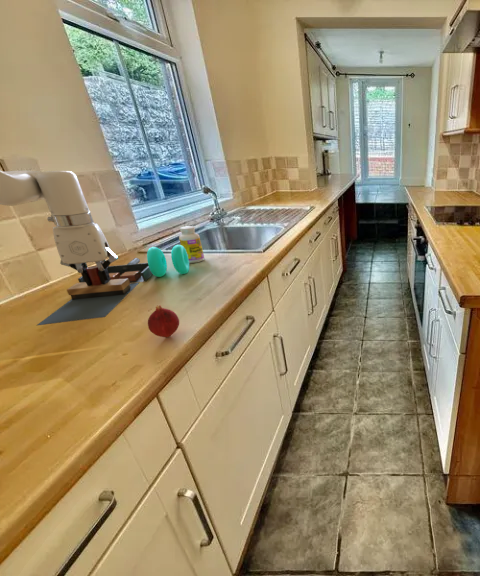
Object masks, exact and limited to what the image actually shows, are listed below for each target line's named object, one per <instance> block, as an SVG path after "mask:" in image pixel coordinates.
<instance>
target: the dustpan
mask: <svg viewBox="0 0 480 576" xmlns="http://www.w3.org/2000/svg"><path fill="white" fill-rule="evenodd" d="M107 270H108V273H120V276H121V275H122V274H123V273H125V272H132V271H139V272H140V275H141V277H140V278H139V279H137V280H136V281H129V282H130V283H139V282H140V283H146V282H147V281H148V280H149V279H150V278H151V277H152V276H153V274H152V272H151V271H150V268H149V265H148V262H142V263H141V259H140V258H138V257H134V258H133V259H131V260H130V261H129V262H128V263H126V264H118V265H117V264H116V265H109V266H108V268H107ZM77 280H78V283H82V282H84V279H83V277H82V275H81V276H80V277H78V278H77Z"/></svg>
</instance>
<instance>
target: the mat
mask: <svg viewBox="0 0 480 576" xmlns="http://www.w3.org/2000/svg"><path fill="white" fill-rule="evenodd" d="M140 283H141V282H136V283H130V284H129V285H130V288H131V289H130V290H129V291H127V292H126V293H125V294H124V295H114V296H104V297H95V298H85V299H75V300H72V298H71V299H70V300H69V301H67V302H65V303H64V304H63V305H62V306H60V307H59V308H57V309H56V310H55V311H53V312H52V313H51V314H50V315H48V316H47V317H45V318H44V319H43V320H41V321H40V322H39V323H37V324H36V326H44V325H53V324H59V323H68V322H77V321H83V320H91V319H100V318H105V317H107V316H108V315H109V314H110V313H111V312H112V311H113V310H114V309H115V308H116V307H117V306H118V305H119V304H120V303H121V302H122V301H123V300H124V299H126V297H127V296H128V295H130V293H131V292H132V291H133V290H134V289H135V288H136V287H137V286H138V285H139V284H140Z"/></svg>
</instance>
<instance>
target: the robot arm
mask: <svg viewBox="0 0 480 576" xmlns="http://www.w3.org/2000/svg"><path fill="white" fill-rule="evenodd" d="M43 200H45V203H46V205H47V207H48V210H49V213H50V216H47V221H48V222H49V223H54V225H55V226H53V227H52V233H53V240H54V242H55V247H56V250H57V253H58V256H59V258H60V263H59V264H60V265H62V266H65V267H68V268H71V269H73V270H75V271H76V272H77V273H79V274H81V276H82V277H83V279H84V282H86V284H87V286H90V285H92V283H91V280H90V278H89V275H88V273H87V271H86V268H87V267H88V264H87V263H95V266H97V267H98V269H99V271H98V275H99V277H100V280H101V283H102V284H106V283H108V282H109V281H110V276H109V273H108V270H107V268H108V266H111V265H112V263H114V262H116V261H117V260H118V259H119V257H118V255H116V253H114V251H112V249H111V246H110V244H109V241H108V239H107V238H106V235H105V234H104V231H102V228H101V226H100V225H99V224H98V223H97V222H94V219H93V215H92V214H91V211H90V208H89V206H88V203H87V200H86V198H85V194H84V192H83V189H82V186H81V184H80V182H79V179H78V176H77V174H75V173H74V172H73V171H70V170H45V171H38V170H29V169H28V170H27V169H25V170H24V169H19V170H6V171H2V170H0V205H1V206H7V207H8V206H9V207H10V206H11V207H12V206H13V207H15V206H20V205H24V204H29V203H35V202H38V201H43Z"/></svg>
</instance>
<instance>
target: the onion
mask: <svg viewBox="0 0 480 576" xmlns="http://www.w3.org/2000/svg"><path fill="white" fill-rule="evenodd" d="M179 326H180V319H179V316H178V315H177V314H176V313H175V311H173V310H171V309H169V308H165V307H162V305H161V304H157V305H156V306H155V310H154V311H153V312H152V313H150V315H149V316H148V318H147V327H148V330H149V331H150V332H151V333H152V334H153V335H155V336H157V337H161V338H171V336H172V335H174V334H175V333H176V332H177V330H178V328H179Z"/></svg>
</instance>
